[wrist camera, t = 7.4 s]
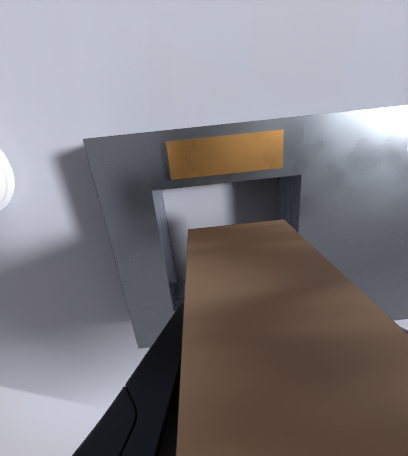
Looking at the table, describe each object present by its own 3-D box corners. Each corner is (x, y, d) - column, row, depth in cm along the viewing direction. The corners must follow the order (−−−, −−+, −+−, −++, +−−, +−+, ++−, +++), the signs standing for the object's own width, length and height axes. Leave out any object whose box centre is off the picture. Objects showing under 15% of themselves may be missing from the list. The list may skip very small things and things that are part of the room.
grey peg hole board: (470, 100, 13) (556, 89, 10) (419, 284, 17) (468, 316, 14) (106, 138, 13) (79, 139, 10) (147, 313, 17) (137, 352, 14)
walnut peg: (283, 219, 10) (787, 685, 2) (281, 298, 11) (531, 756, 3) (188, 229, 10) (160, 757, 1) (198, 307, 11) (212, 794, 3)
